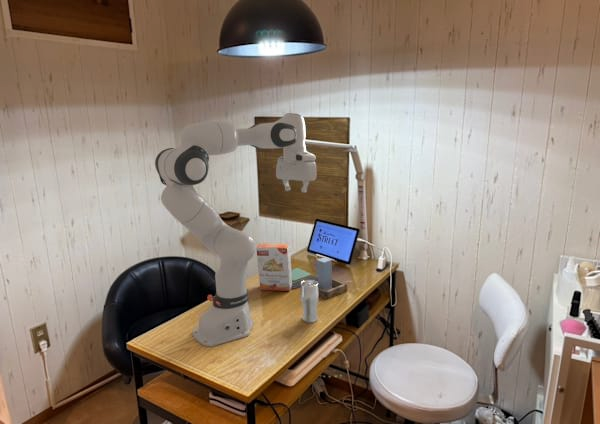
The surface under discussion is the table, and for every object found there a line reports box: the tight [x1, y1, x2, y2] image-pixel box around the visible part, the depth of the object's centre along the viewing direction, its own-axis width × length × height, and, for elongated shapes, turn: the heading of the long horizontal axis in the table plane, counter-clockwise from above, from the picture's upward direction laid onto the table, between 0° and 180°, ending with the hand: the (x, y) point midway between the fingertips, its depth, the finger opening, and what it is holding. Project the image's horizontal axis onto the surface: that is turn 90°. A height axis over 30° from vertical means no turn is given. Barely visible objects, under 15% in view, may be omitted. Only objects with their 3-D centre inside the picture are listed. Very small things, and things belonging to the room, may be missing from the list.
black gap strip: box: [290, 275, 317, 290], centre depth 192 cm, size 16×5×1 cm, turn 129°
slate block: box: [316, 256, 333, 291], centre depth 184 cm, size 5×5×14 cm
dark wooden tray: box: [318, 277, 348, 300], centre depth 185 cm, size 12×15×3 cm
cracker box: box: [255, 242, 293, 292], centre depth 184 cm, size 14×6×21 cm, turn 80°
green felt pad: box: [291, 267, 313, 283], centre depth 201 cm, size 11×11×1 cm
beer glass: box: [299, 280, 320, 323], centre depth 158 cm, size 7×7×15 cm
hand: (295, 191), depth 163 cm, fingers open, 8 cm apart
